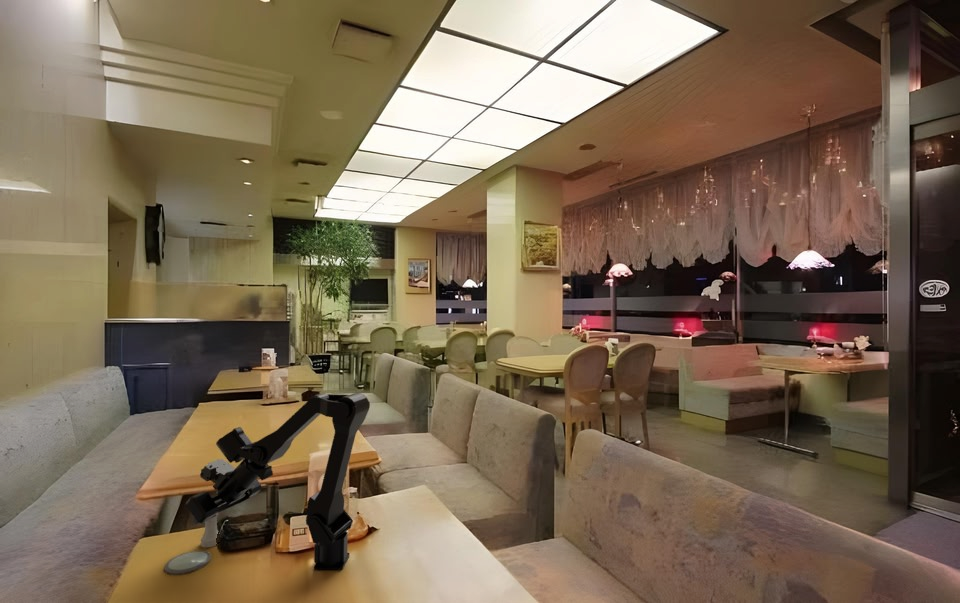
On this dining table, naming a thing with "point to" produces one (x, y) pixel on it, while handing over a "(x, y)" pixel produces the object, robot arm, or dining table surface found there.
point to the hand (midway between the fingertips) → (206, 516)
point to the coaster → (187, 562)
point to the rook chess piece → (210, 533)
